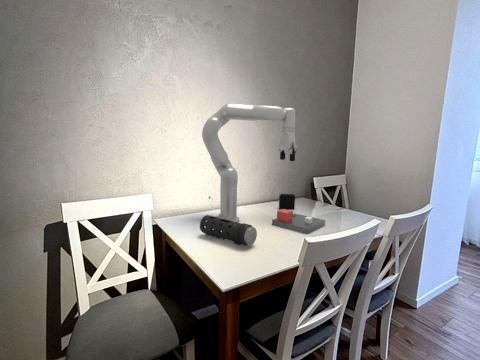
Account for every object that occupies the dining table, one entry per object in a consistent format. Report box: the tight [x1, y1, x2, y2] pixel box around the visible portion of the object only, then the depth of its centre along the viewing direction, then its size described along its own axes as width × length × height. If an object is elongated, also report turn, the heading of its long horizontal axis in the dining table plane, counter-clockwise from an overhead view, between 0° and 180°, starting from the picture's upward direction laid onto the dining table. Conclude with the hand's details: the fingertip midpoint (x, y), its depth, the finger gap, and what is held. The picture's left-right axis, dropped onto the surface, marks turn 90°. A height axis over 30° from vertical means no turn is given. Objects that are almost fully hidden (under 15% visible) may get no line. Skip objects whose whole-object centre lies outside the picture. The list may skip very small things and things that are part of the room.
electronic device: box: [278, 193, 296, 211], centre depth 196 cm, size 4×10×10 cm, turn 89°
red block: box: [276, 209, 294, 222], centre depth 162 cm, size 6×6×5 cm
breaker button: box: [305, 216, 312, 224], centre depth 158 cm, size 3×3×4 cm
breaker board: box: [271, 212, 326, 235], centre depth 162 cm, size 20×22×4 cm
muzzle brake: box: [199, 214, 258, 247], centre depth 137 cm, size 10×28×10 cm, turn 53°
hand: (287, 160), depth 169 cm, fingers open, 9 cm apart
